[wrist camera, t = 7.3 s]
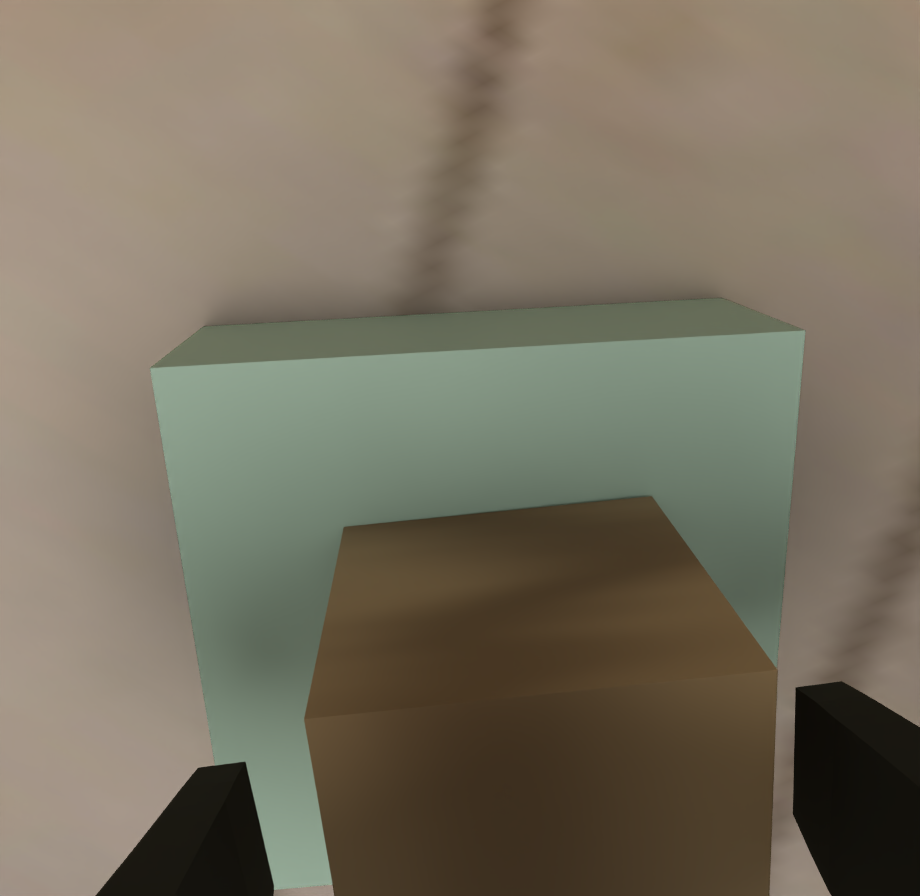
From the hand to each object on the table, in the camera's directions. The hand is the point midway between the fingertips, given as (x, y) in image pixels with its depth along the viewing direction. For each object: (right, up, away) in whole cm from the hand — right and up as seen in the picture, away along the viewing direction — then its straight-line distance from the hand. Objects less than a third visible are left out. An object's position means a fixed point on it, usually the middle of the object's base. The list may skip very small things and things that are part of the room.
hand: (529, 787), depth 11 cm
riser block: (-1, +2, +7) cm, 8 cm away
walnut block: (0, +1, +3) cm, 4 cm away
